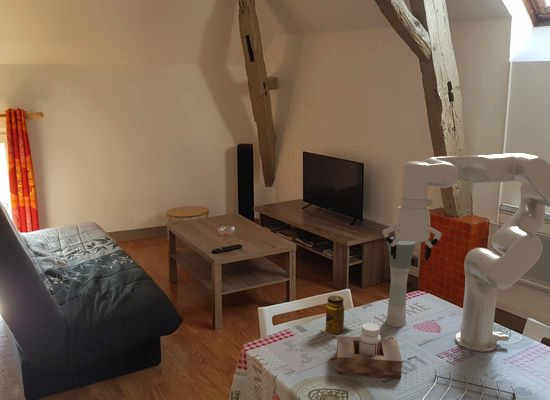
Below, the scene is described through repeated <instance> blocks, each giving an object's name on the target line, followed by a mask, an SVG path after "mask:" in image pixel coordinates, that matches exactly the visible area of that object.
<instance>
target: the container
mask: <svg viewBox="0 0 550 400" xmlns="http://www.w3.org/2000/svg"><path fill="white" fill-rule="evenodd" d="M394 237H395V236H392V237H390V238H391V239H393V238H394ZM386 244H387V250H388V255H389V262H388V266H390V287H389V298H388V304H387V305H388V306H387V312H386V319H385V323H386V324H387V325H388V326H391V327H396V328H399V327H405V326H406V325H407V319H406V318H407V285H408V284H407V282H408V277H409V272H410V268H411V266H412V265H411V264H412V258H413V254H414V252H415V248H416V246H417V242H416V241H399V242H398V243H397V244H396V259H393V257H392V256H391V255H390V252H391V245H390V244H389V243H388V241H387V240H386Z"/></svg>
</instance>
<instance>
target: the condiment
mask: <svg viewBox="0 0 550 400" xmlns="http://www.w3.org/2000/svg"><path fill="white" fill-rule="evenodd" d="M344 301H345V299H344V297H342V296H340V295H330V296H328V297H327V304H326V308H325V312H326V313H325V327H324V328H323V329H320V332H323V333H325V334H328V335H330V336H332V337H334V338H337V336H344V335H346V334H347V333H349V332H350V331H352V330H353V329H352V328H349V327H347V326H344V325H345V324H344V323H345V305H344Z"/></svg>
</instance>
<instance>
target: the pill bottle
mask: <svg viewBox="0 0 550 400" xmlns="http://www.w3.org/2000/svg"><path fill="white" fill-rule="evenodd" d="M359 337H360V342H359V354H361V355H377V356H380V345H381V339H382V337H381V335H380V326H379V325H378V324H376V323H372V322H365V323H363V324H362V325H361V333H360V335H359Z"/></svg>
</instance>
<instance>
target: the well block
mask: <svg viewBox="0 0 550 400" xmlns="http://www.w3.org/2000/svg"><path fill="white" fill-rule="evenodd" d="M336 340H337V341H336V375H340V376H355V377H356V376H357V377H369V378H385V379H397V380H399V379H400V380H401V379H402V369H403V360H402V355H401V352H400V347H399V344H398V341H397V339H396V338H395V339H394V338H381V345H380V356H377V355H361V354H359V342H360V336H347V335H345V336H344V335H341V336H337V339H336Z"/></svg>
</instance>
